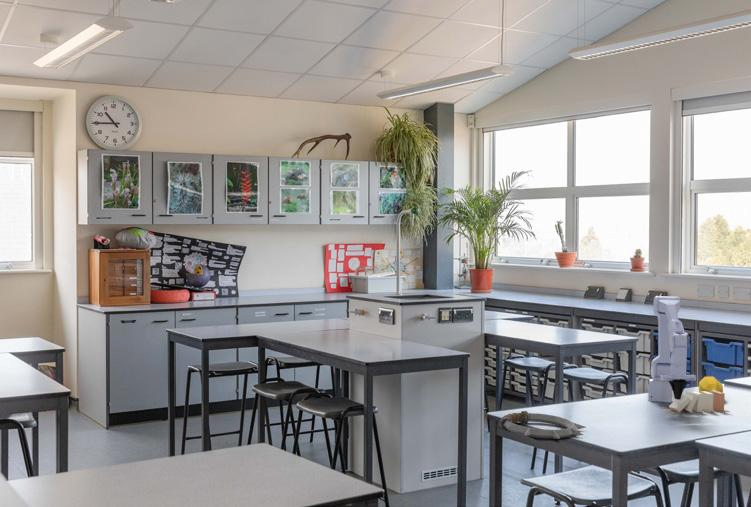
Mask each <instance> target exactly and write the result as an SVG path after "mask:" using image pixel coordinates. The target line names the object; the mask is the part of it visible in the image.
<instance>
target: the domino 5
mask: <svg viewBox="0 0 751 507" xmlns="http://www.w3.org/2000/svg"><path fill="white" fill-rule="evenodd" d="M712 393H713V409H714V410H717V411H724V410H725V396H726V395H725V392H723V393H721V392H718V391H712Z"/></svg>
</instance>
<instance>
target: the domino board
mask: <svg viewBox="0 0 751 507" xmlns="http://www.w3.org/2000/svg"><path fill="white" fill-rule="evenodd" d="M660 411H664V412H666V413H668V414H672V415H677V414H678V415H679V414H680V415H682V414H707V413H708V414H710V413H731V411H729V410H726V409H724V411H717V410H714V409H713V412H708V411H705V410H702V412H696V411H693V410H691V412H688V411H685V410H683V409H682V410H681V411H680V412H676V411H673V410H671V408H663V409H660Z"/></svg>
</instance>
